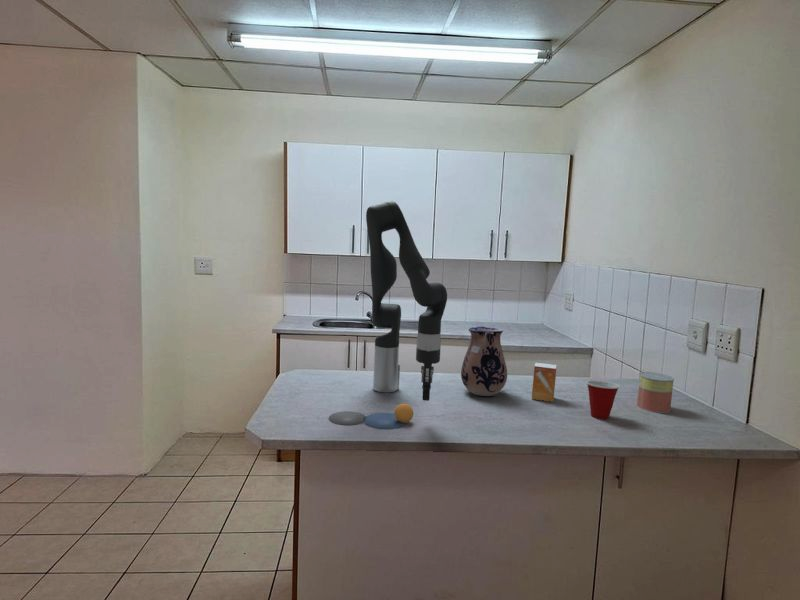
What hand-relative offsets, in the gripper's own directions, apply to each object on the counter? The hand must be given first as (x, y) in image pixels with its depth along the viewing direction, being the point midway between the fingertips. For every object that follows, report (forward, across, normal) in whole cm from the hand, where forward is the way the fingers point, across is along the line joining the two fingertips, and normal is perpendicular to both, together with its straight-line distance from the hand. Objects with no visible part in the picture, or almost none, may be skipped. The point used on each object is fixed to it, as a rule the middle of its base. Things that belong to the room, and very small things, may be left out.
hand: (425, 399), depth 164 cm
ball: (+5, 0, -7) cm, 8 cm away
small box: (+9, -34, +45) cm, 57 cm away
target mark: (+8, 0, -13) cm, 15 cm away
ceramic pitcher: (+9, -38, +22) cm, 45 cm away
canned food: (+9, -31, +84) cm, 90 cm away
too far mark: (+8, 0, -25) cm, 26 cm away
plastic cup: (+8, -17, +61) cm, 64 cm away
